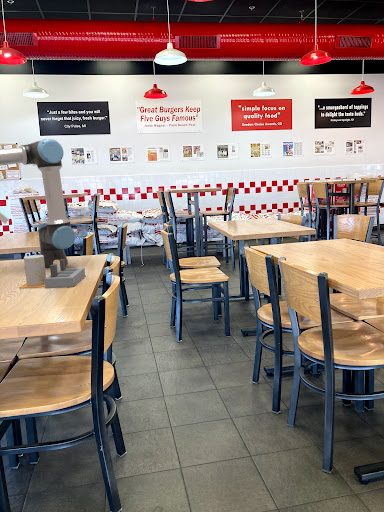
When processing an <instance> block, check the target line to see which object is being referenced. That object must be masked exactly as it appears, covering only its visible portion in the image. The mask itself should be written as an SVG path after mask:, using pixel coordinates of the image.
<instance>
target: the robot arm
mask: <svg viewBox="0 0 384 512" xmlns="http://www.w3.org/2000/svg"><path fill="white" fill-rule="evenodd" d="M64 154H65V151H64V149H63V146H62V144H61V143H60V142H58V141H57V140H55V139H53V138H44V139H43V138H42V139H41V140H37V141H34V142H32V143H27V144H22V145H21V144H20V146H18V147H11V148H2V149H1V148H0V166H6V165H7V166H8V165H16V164H22V165H24V166H26V165H36V166H37V167H36V168H37V169H38V171H40V172H41V178H42V184H43V190H44V196H45V202H46V208H47V209H46V210H47V218H48V221H47V222H45V223H44V222H42V223H39V224H38V226H37V232H38V238H39V239H38V240H39V249H40V254H39V255H43V256H44V264H45V269H46V268H49V269H50V265H52V264H53V262H54V260H60V259H65V266H66V265H68V264H69V262H68V261H69V260H68V258H67V255H66V253H65V251H64V250H65V249H68V248H70V247H72V246H73V245H74V243H75V242H76V237H77V236H76V232H75V230H74V229H73V227H72V224H71V220H70V219H69V218H68V217H67V213H66V205H65V199H64V194H63V186H62V185H63V184H62V177H61V171H60V170H61V169H62V167H63V163H62V160H63V157H64ZM0 221H1V222H2V223H3V224H7V223H8V222H9V221H10V218H9V217H7V216H6V215H5V214H3V213H2V212H1V211H0Z"/></svg>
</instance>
